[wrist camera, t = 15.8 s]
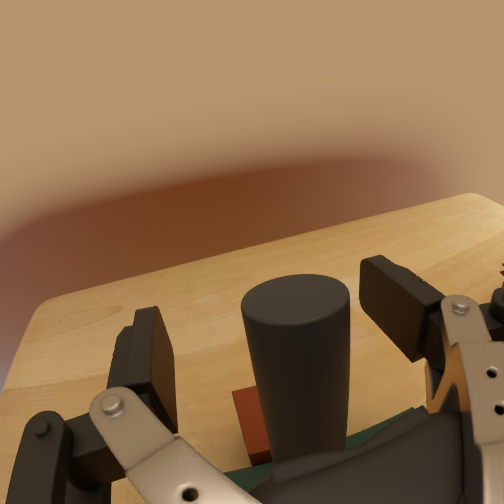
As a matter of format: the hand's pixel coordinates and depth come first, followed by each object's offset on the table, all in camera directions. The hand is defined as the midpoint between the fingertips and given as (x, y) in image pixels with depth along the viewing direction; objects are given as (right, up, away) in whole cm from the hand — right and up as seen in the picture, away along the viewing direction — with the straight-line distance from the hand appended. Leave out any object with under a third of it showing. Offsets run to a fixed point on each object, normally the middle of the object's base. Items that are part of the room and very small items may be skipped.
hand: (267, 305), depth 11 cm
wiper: (+2, -10, 0) cm, 11 cm away
